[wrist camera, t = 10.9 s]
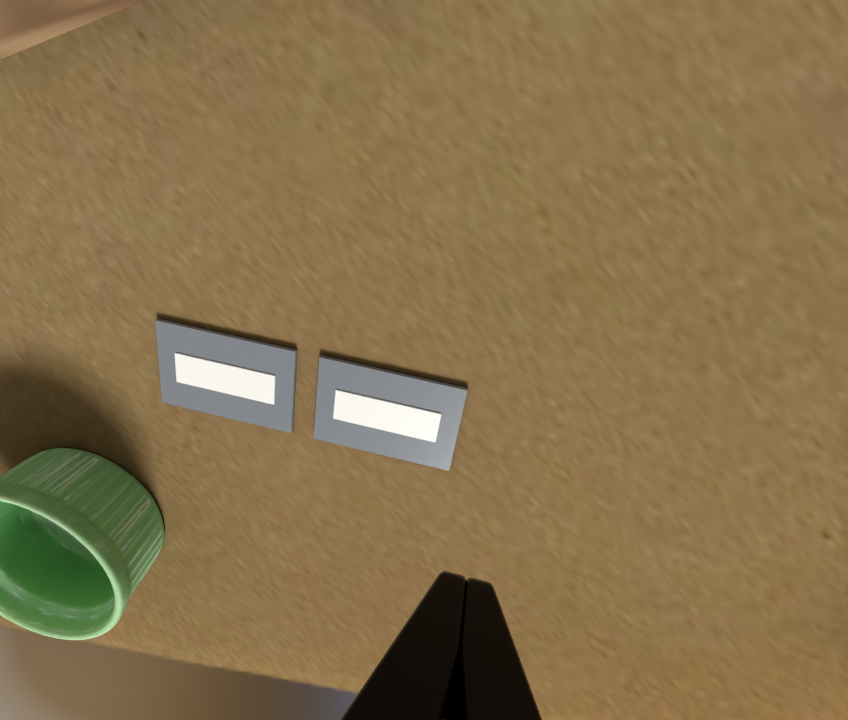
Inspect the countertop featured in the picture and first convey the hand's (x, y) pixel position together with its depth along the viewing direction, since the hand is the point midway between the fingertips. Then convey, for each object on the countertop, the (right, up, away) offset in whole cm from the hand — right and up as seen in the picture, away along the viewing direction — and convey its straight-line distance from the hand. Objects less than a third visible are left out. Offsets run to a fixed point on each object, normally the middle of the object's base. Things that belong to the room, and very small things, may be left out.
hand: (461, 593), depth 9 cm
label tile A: (-2, +2, +13) cm, 13 cm away
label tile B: (-9, +3, +14) cm, 17 cm away
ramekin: (-18, -4, +19) cm, 27 cm away
